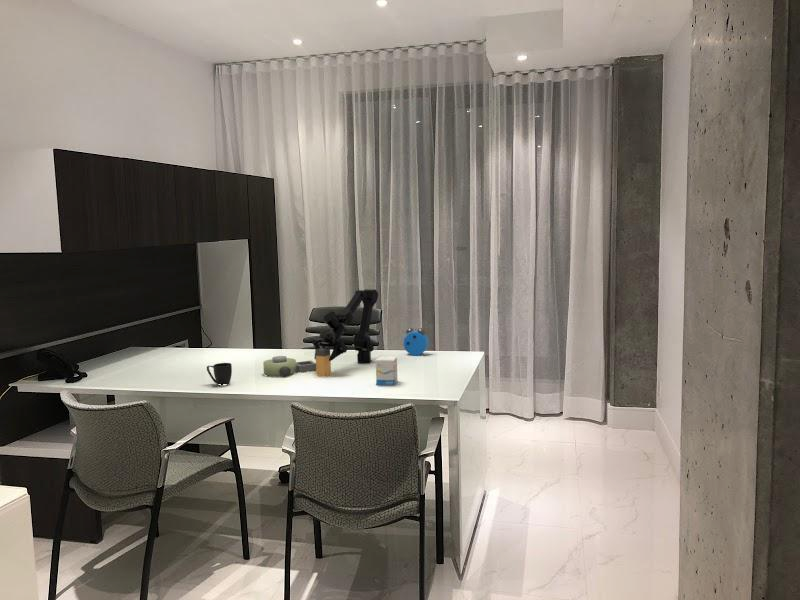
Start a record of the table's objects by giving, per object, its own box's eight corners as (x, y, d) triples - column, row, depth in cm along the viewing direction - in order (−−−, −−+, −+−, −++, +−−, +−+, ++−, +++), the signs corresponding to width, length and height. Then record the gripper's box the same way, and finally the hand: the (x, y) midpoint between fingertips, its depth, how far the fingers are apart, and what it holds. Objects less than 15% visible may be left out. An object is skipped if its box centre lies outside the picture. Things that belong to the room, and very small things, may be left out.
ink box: (394, 385, 293) (393, 360, 291) (376, 385, 294) (375, 359, 293) (398, 381, 301) (397, 356, 300) (380, 380, 303) (379, 356, 302)
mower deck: (308, 365, 342) (307, 350, 341) (320, 372, 324) (319, 356, 323) (259, 371, 330) (258, 355, 330) (269, 379, 313) (268, 362, 312)
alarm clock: (429, 353, 362) (428, 327, 360) (426, 356, 356) (425, 329, 354) (406, 353, 366) (405, 327, 364) (403, 355, 360) (402, 328, 358)
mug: (213, 381, 311) (211, 362, 310) (235, 382, 308) (234, 362, 307) (203, 386, 303) (202, 366, 302) (227, 386, 300) (225, 366, 299)
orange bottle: (323, 373, 321) (322, 347, 319) (331, 374, 318) (330, 348, 317) (316, 375, 317) (315, 349, 315) (324, 376, 314) (323, 350, 312)
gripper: (313, 323, 324) (299, 348, 316) (342, 325, 313) (328, 351, 305) (324, 336, 331) (311, 361, 323) (353, 339, 321) (340, 365, 313)
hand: (322, 359), depth 316 cm, fingers open, 9 cm apart
